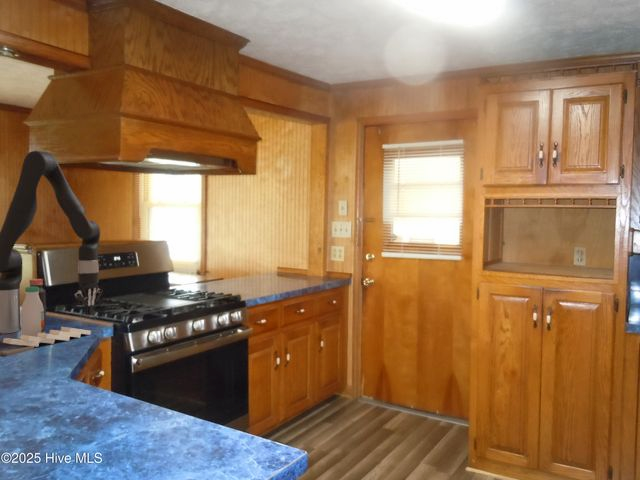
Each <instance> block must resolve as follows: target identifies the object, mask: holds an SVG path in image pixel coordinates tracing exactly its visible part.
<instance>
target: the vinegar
mask: <svg viewBox="0 0 640 480" xmlns="http://www.w3.org/2000/svg"><path fill="white" fill-rule="evenodd" d="M28 280H29V287H39V293H38V295H39V298H40V300H41V302H42V304H43V308H44V328H45V327H46V326H47V315H46V314H47V313H46V311H47V310H46V309H47V307H46V290H45V289H44V288H43V285H44V283H43V281H44V279H43V278H32V279H28Z"/></svg>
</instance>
